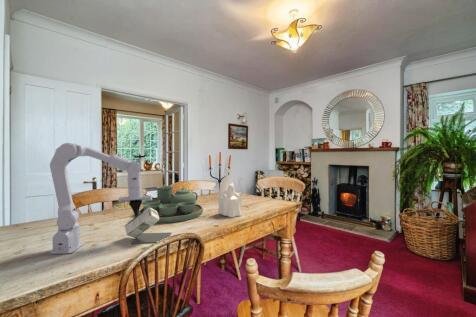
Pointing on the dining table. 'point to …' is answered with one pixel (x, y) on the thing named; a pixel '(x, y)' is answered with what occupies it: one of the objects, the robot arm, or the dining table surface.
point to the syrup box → (141, 222)
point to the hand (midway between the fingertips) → (136, 216)
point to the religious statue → (229, 197)
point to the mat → (150, 237)
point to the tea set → (173, 205)
